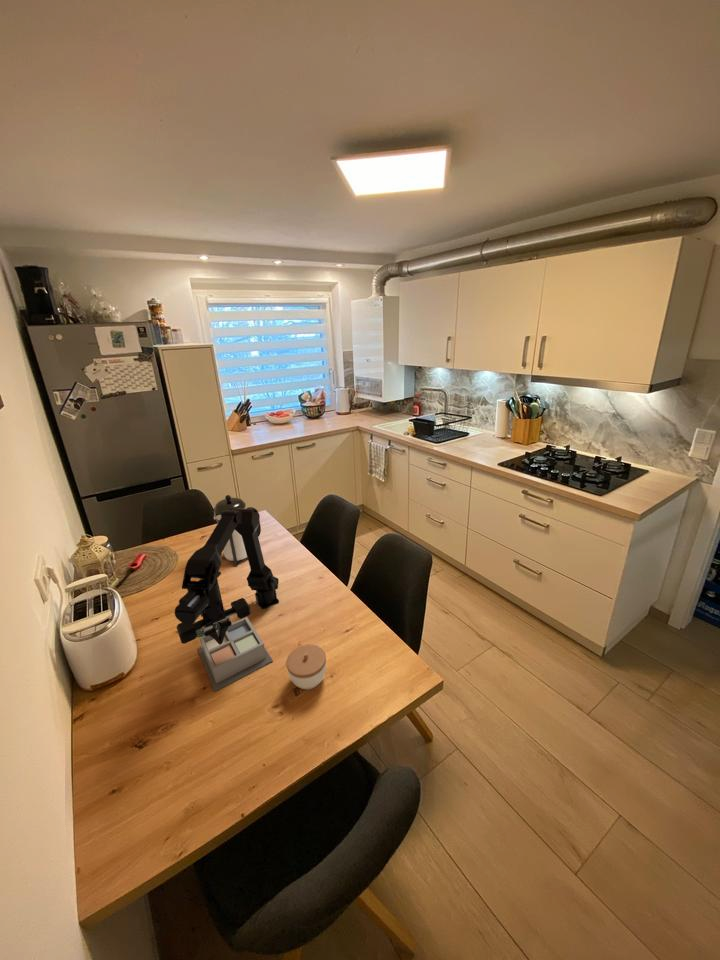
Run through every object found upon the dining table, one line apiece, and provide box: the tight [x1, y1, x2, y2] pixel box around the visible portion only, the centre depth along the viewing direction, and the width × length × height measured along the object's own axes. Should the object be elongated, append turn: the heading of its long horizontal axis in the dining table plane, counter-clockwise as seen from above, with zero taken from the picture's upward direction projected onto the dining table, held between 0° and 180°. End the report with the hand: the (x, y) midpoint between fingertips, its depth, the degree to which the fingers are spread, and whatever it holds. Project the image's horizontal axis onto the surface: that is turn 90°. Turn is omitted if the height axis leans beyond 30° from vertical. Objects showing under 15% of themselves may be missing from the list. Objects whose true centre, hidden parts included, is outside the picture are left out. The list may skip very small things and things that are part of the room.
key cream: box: [206, 636, 227, 650], centre depth 117 cm, size 6×6×3 cm
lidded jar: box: [285, 643, 327, 691], centre depth 105 cm, size 11×11×9 cm
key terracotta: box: [211, 645, 235, 665], centre depth 111 cm, size 6×6×3 cm
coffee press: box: [213, 494, 262, 567], centre depth 166 cm, size 17×16×30 cm
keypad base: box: [197, 616, 273, 692], centre depth 115 cm, size 17×19×6 cm
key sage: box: [235, 635, 258, 653], centre depth 114 cm, size 6×6×3 cm
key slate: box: [229, 625, 249, 639], centre depth 120 cm, size 6×6×3 cm
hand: (220, 643), depth 109 cm, fingers closed
